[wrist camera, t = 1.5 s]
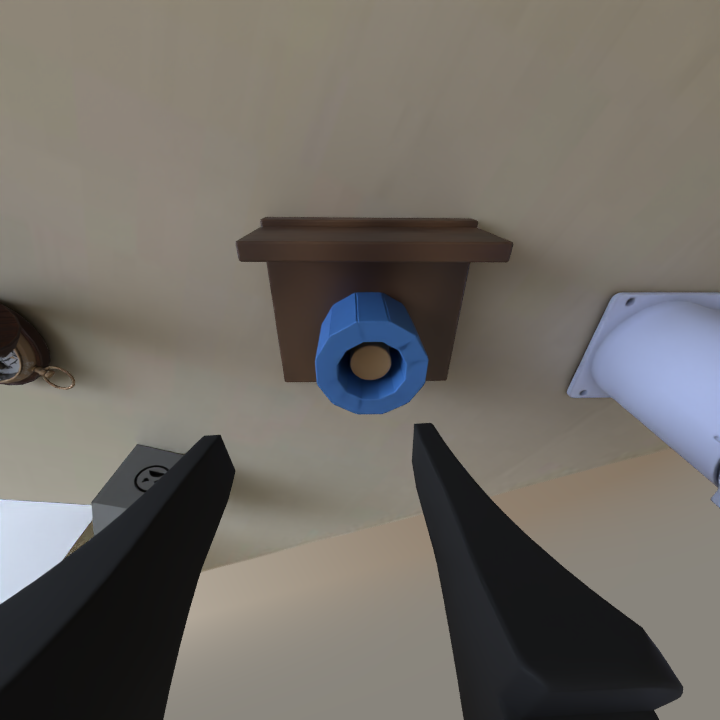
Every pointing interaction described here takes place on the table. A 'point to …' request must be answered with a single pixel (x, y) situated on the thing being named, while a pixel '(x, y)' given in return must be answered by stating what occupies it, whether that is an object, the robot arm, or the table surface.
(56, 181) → the table surface
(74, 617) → the robot arm
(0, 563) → the block
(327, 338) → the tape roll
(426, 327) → the holder
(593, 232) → the table surface
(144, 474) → the dice cube
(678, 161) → the table surface
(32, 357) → the compass
